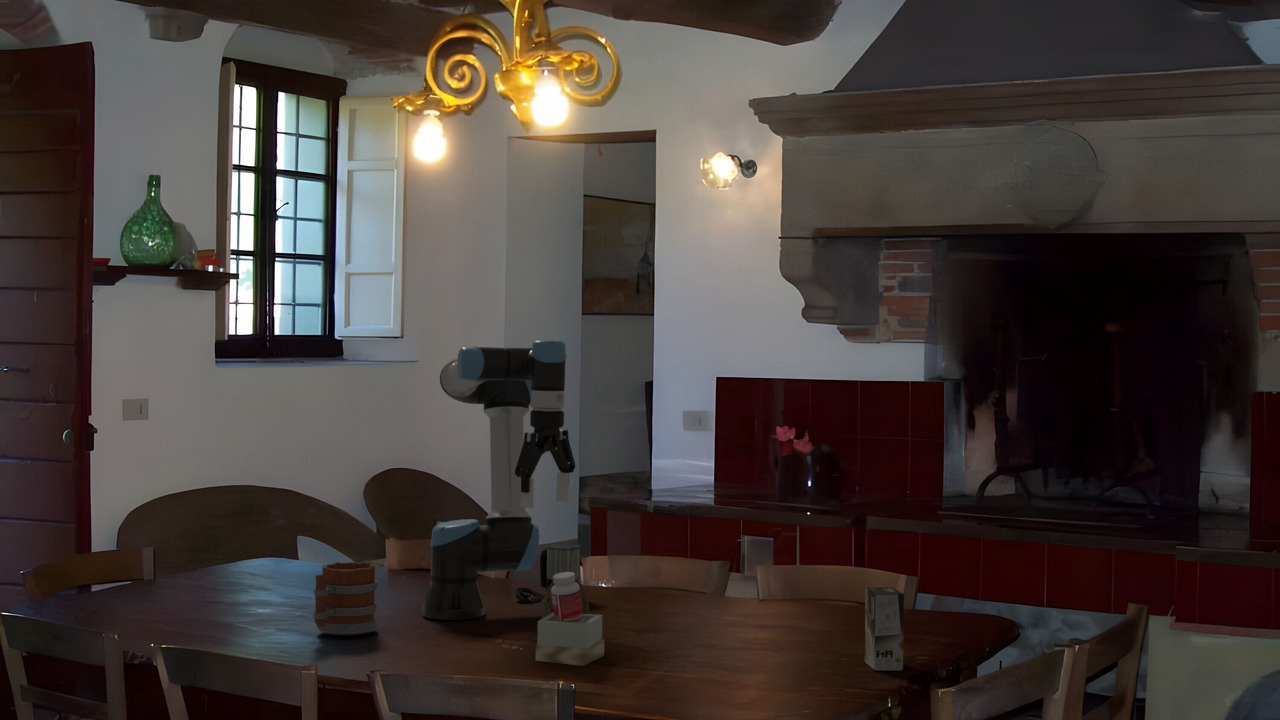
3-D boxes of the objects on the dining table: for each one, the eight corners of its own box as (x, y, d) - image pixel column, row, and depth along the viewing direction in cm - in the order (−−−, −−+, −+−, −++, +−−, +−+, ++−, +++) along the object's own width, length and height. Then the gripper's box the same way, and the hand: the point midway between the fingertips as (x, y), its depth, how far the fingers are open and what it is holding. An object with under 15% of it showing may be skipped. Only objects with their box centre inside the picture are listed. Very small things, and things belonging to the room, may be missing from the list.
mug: (389, 627, 316) (391, 563, 316) (342, 641, 298) (343, 574, 298) (340, 621, 321) (341, 559, 321) (290, 635, 303) (291, 569, 303)
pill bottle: (589, 621, 286) (584, 571, 285) (572, 631, 281) (566, 580, 280) (566, 619, 289) (560, 569, 288) (549, 628, 284) (543, 578, 283)
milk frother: (586, 601, 356) (587, 545, 356) (550, 609, 343) (551, 551, 343) (544, 595, 364) (545, 540, 364) (507, 603, 351) (508, 546, 351)
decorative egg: (570, 646, 297) (571, 578, 297) (531, 640, 303) (532, 574, 303) (597, 638, 306) (598, 572, 306) (559, 632, 312) (560, 568, 312)
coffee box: (904, 671, 278) (905, 593, 278) (874, 671, 277) (875, 593, 277) (892, 661, 287) (893, 586, 287) (862, 661, 286) (864, 586, 287)
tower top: (537, 645, 281) (537, 621, 281) (553, 635, 292) (553, 612, 292) (587, 648, 278) (587, 624, 278) (601, 638, 289) (602, 615, 289)
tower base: (535, 663, 282) (535, 644, 282) (557, 653, 292) (558, 634, 292) (583, 668, 278) (583, 649, 278) (604, 657, 288) (604, 639, 288)
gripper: (528, 412, 286) (525, 511, 286) (591, 408, 307) (589, 500, 308) (500, 410, 290) (497, 508, 290) (564, 406, 311) (562, 497, 312)
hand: (544, 504), depth 299 cm, fingers open, 13 cm apart
